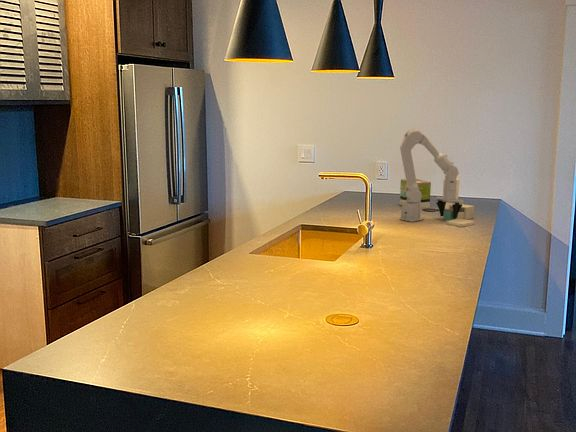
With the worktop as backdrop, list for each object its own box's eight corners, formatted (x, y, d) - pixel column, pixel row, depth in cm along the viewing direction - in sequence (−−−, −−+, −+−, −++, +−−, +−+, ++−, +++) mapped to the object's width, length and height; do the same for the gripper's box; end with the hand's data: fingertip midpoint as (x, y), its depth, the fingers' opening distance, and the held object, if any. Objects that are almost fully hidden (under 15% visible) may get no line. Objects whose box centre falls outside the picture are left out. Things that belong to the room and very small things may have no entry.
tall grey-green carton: (450, 221, 320) (450, 211, 319) (443, 219, 323) (443, 210, 322) (457, 219, 324) (457, 209, 323) (450, 218, 327) (450, 208, 326)
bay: (459, 220, 320) (460, 208, 319) (442, 217, 327) (442, 206, 326) (473, 217, 328) (474, 206, 327) (456, 215, 335) (457, 203, 334)
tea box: (398, 205, 363) (400, 178, 361) (413, 204, 368) (415, 178, 365) (415, 209, 350) (416, 182, 347) (430, 208, 354) (431, 181, 351)
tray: (461, 227, 305) (461, 224, 305) (446, 224, 311) (446, 221, 311) (474, 224, 312) (474, 221, 312) (458, 221, 318) (458, 218, 318)
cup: (459, 209, 353) (460, 179, 350) (443, 208, 353) (445, 179, 350) (455, 206, 361) (457, 177, 358) (440, 206, 361) (442, 177, 358)
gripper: (467, 190, 317) (465, 218, 319) (442, 187, 327) (440, 214, 330) (459, 192, 312) (457, 220, 315) (433, 188, 323) (432, 215, 325)
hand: (448, 217), depth 322 cm, fingers open, 7 cm apart
